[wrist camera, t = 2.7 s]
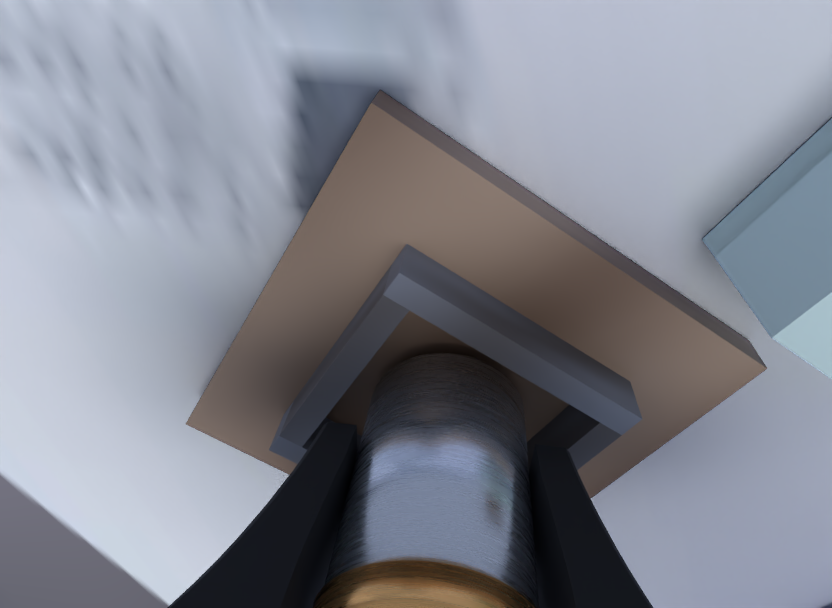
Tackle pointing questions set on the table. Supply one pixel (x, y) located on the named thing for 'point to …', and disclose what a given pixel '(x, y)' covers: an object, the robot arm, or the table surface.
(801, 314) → the bin
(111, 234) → the table surface
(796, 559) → the table surface
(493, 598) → the metal can
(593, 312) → the socket plate
